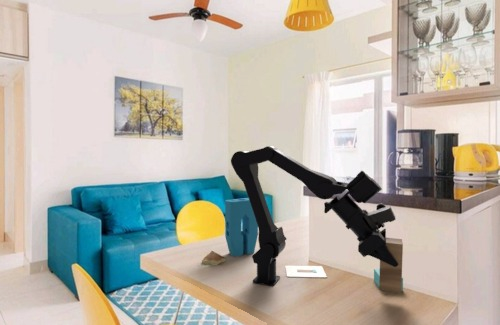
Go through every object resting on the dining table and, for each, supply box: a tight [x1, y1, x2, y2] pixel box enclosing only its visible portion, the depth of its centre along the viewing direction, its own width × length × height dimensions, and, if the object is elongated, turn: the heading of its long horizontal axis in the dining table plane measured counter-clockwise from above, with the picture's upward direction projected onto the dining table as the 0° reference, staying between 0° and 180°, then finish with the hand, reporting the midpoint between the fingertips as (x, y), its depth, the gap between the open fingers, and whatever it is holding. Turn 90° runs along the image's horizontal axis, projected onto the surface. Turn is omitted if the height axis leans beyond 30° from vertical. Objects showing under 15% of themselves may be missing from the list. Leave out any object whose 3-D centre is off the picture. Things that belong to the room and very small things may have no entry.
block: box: [224, 197, 259, 257], centre depth 119 cm, size 12×5×20 cm, turn 122°
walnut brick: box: [378, 236, 404, 294], centre depth 81 cm, size 5×5×12 cm
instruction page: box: [284, 265, 328, 279], centre depth 101 cm, size 9×12×1 cm
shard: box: [201, 250, 227, 266], centre depth 113 cm, size 11×8×2 cm
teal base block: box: [373, 268, 404, 292], centre depth 91 cm, size 6×6×4 cm
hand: (396, 262), depth 80 cm, fingers closed on walnut brick, 5 cm apart
